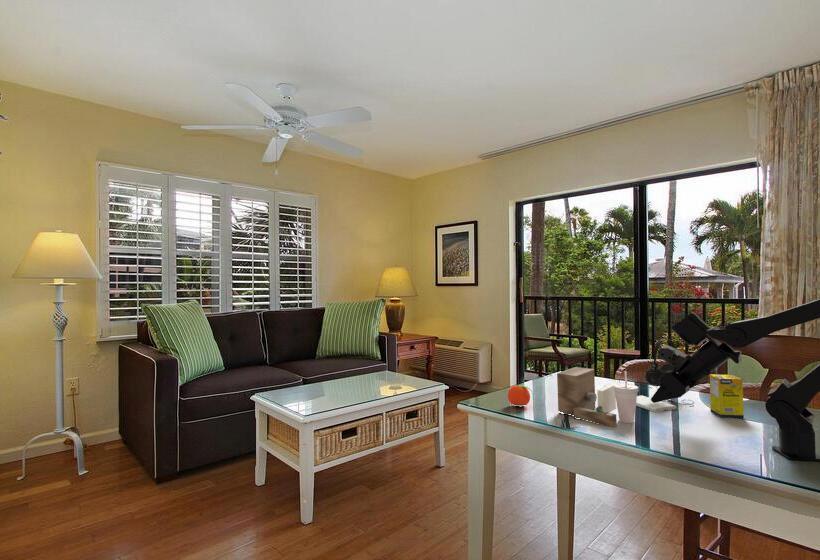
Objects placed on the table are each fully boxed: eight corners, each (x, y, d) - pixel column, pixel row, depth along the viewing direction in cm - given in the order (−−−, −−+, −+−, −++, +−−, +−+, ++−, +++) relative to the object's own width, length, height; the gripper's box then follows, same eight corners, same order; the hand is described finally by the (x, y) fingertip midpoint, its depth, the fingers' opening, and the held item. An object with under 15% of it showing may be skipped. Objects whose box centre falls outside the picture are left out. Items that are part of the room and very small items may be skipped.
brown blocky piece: (631, 415, 124) (630, 373, 125) (613, 427, 115) (612, 382, 115) (576, 404, 136) (575, 367, 136) (555, 414, 127) (554, 374, 127)
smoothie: (616, 424, 118) (614, 372, 118) (612, 416, 124) (610, 368, 124) (642, 425, 116) (640, 373, 116) (636, 418, 122) (635, 368, 122)
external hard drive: (642, 400, 141) (676, 410, 129) (622, 402, 139) (655, 413, 127) (642, 395, 141) (676, 405, 129) (622, 397, 139) (655, 408, 127)
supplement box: (744, 418, 119) (743, 378, 119) (720, 417, 121) (719, 378, 121) (733, 411, 125) (731, 374, 125) (710, 411, 126) (708, 374, 126)
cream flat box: (615, 408, 126) (615, 385, 126) (599, 418, 118) (599, 392, 118) (610, 407, 127) (609, 384, 127) (594, 417, 119) (593, 391, 119)
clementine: (536, 405, 137) (535, 383, 137) (530, 411, 131) (529, 388, 131) (511, 402, 141) (511, 381, 141) (505, 408, 135) (504, 385, 135)
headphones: (681, 411, 127) (679, 343, 127) (642, 403, 136) (640, 340, 136) (702, 402, 135) (700, 338, 135) (664, 395, 145) (662, 335, 145)
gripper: (687, 332, 117) (645, 367, 125) (667, 339, 104) (621, 379, 112) (724, 364, 111) (677, 399, 119) (707, 376, 98) (655, 415, 106)
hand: (657, 397), depth 114 cm, fingers open, 9 cm apart
